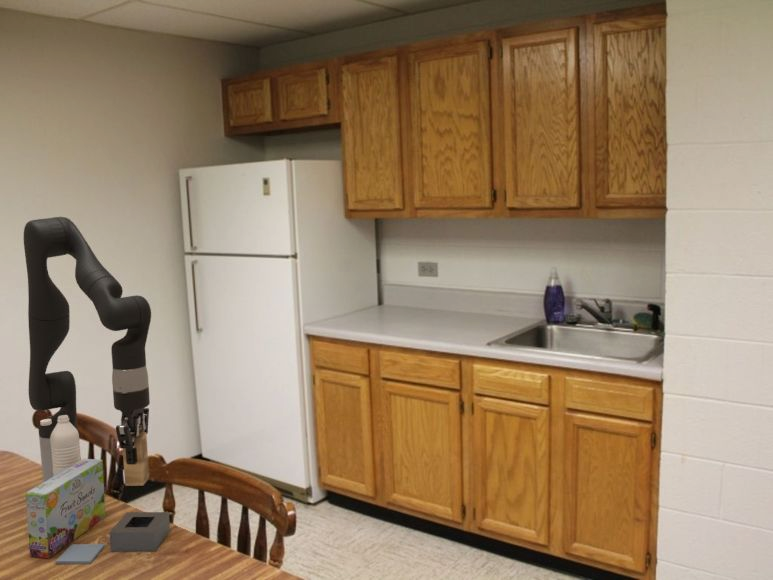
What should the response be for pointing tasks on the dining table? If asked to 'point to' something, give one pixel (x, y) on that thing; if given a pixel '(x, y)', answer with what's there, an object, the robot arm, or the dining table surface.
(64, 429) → the water bottle
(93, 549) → the rubber mat
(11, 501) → the dining table surface
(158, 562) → the dining table surface
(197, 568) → the dining table surface
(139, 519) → the socket block
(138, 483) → the square peg
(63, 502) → the snack box
